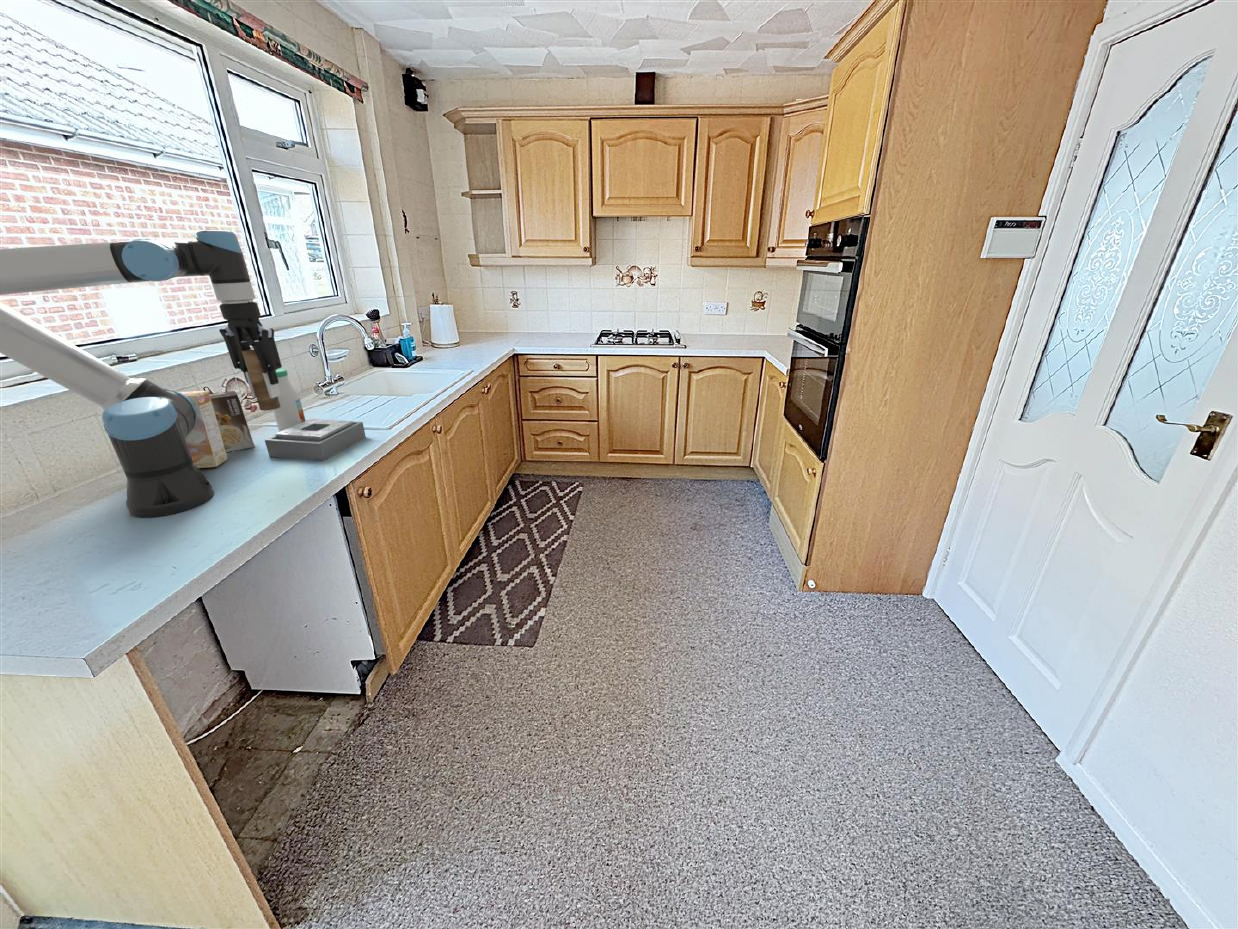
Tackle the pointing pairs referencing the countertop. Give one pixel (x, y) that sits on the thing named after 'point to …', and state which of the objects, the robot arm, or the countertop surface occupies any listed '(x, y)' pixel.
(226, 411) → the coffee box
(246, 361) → the peg
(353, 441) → the grey socket base
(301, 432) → the bore block
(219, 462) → the coffeecake box
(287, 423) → the milk bottle
